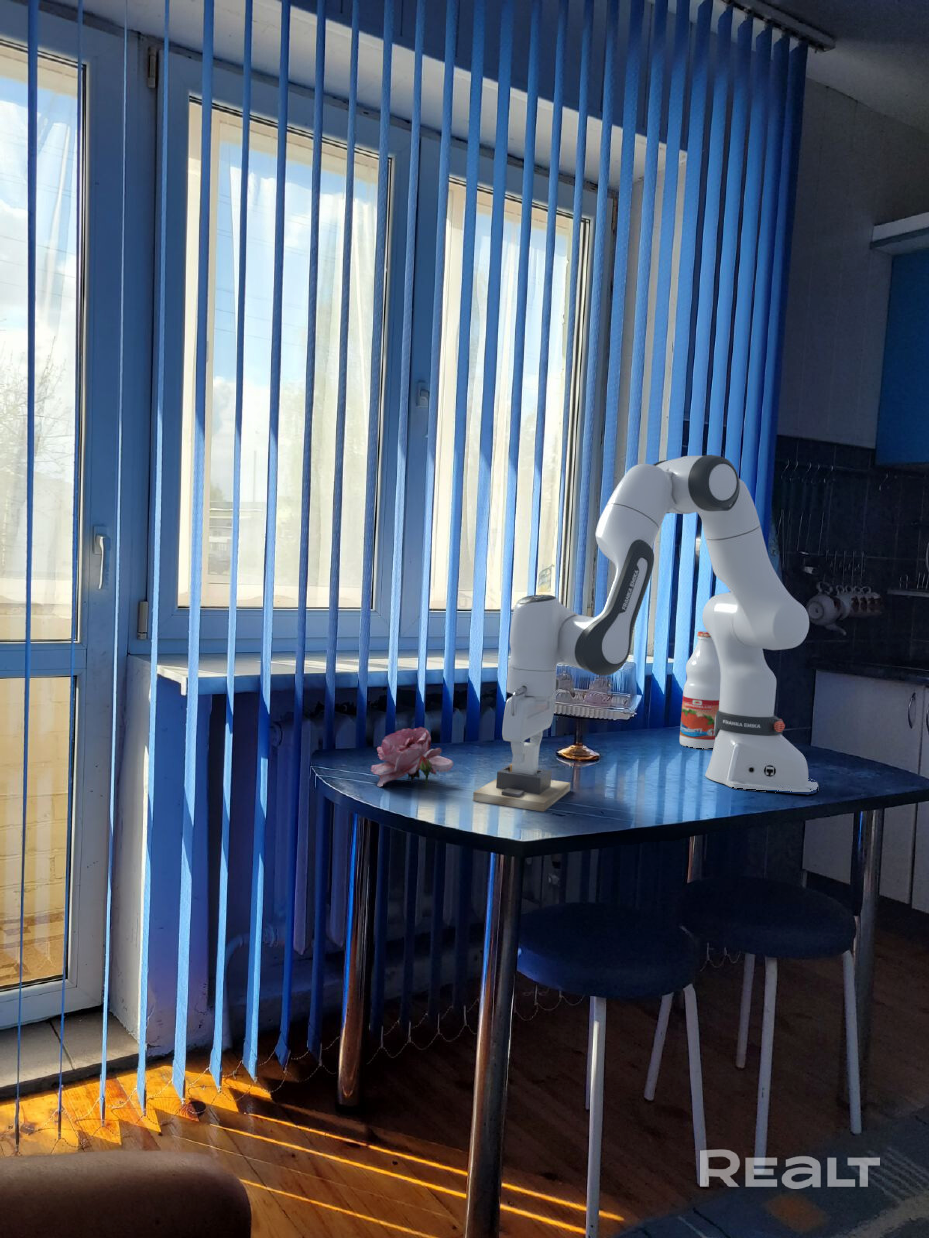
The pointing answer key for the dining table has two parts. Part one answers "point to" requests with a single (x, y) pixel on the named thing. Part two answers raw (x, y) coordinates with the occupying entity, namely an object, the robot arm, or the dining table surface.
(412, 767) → the flower
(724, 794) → the dining table surface
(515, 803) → the board
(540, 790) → the box
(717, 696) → the fruit juice
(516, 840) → the dining table surface
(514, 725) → the robot arm
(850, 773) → the dining table surface
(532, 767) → the plug
